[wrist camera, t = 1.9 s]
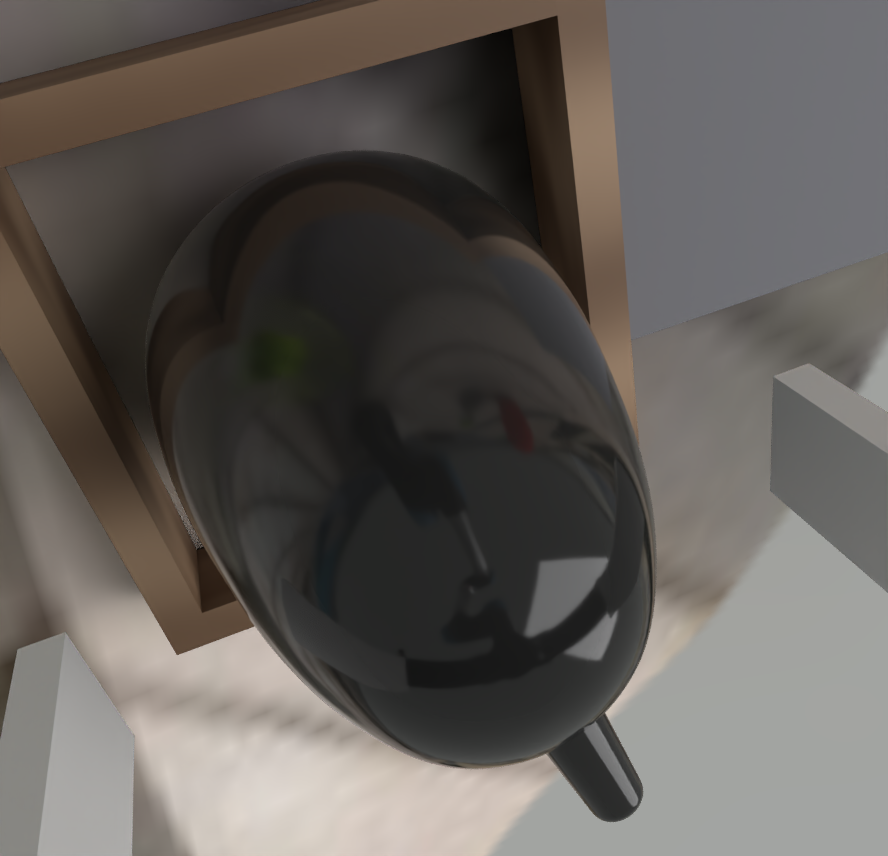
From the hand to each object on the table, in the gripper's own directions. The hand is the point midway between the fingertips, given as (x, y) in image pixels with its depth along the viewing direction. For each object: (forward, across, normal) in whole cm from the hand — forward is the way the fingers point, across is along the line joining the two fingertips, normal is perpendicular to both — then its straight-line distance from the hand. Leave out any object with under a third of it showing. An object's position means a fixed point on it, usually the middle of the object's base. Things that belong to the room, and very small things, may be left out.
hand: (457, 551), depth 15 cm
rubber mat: (+11, +14, +2) cm, 18 cm away
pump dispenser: (+11, 0, 0) cm, 11 cm away
